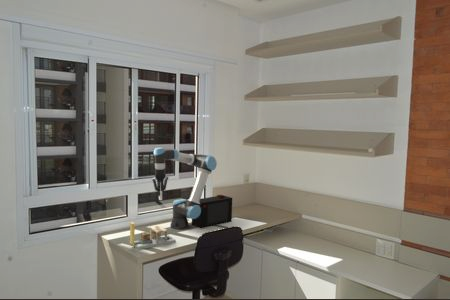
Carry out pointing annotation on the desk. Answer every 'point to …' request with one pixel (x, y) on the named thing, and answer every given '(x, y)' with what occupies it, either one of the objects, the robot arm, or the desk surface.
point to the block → (145, 236)
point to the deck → (160, 242)
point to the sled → (132, 227)
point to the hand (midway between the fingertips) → (160, 199)
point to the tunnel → (157, 232)
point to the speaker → (214, 211)
